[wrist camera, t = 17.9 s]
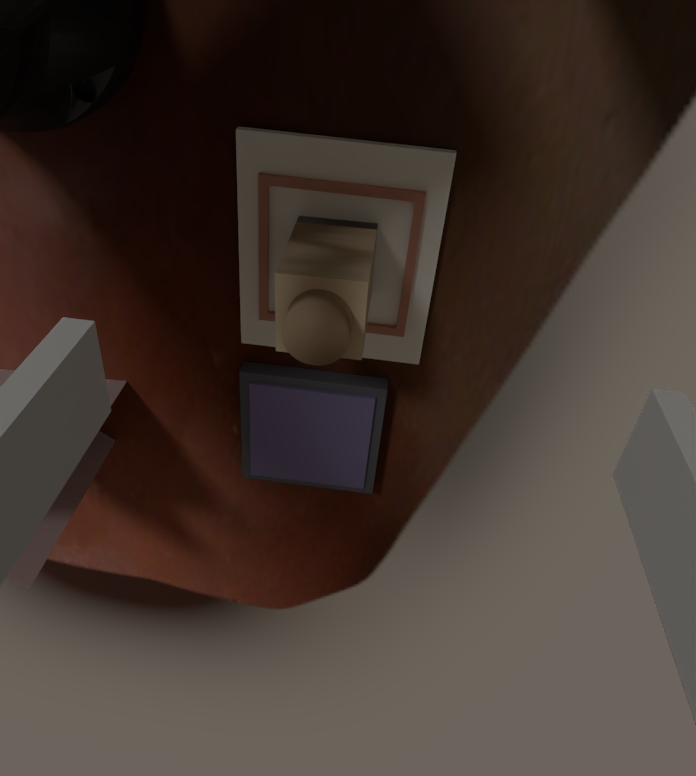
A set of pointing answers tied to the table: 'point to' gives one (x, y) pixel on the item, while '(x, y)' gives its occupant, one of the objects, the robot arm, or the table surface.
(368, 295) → the stamp
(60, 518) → the greeting card
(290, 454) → the ink pad
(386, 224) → the print sheet
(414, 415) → the table surface
